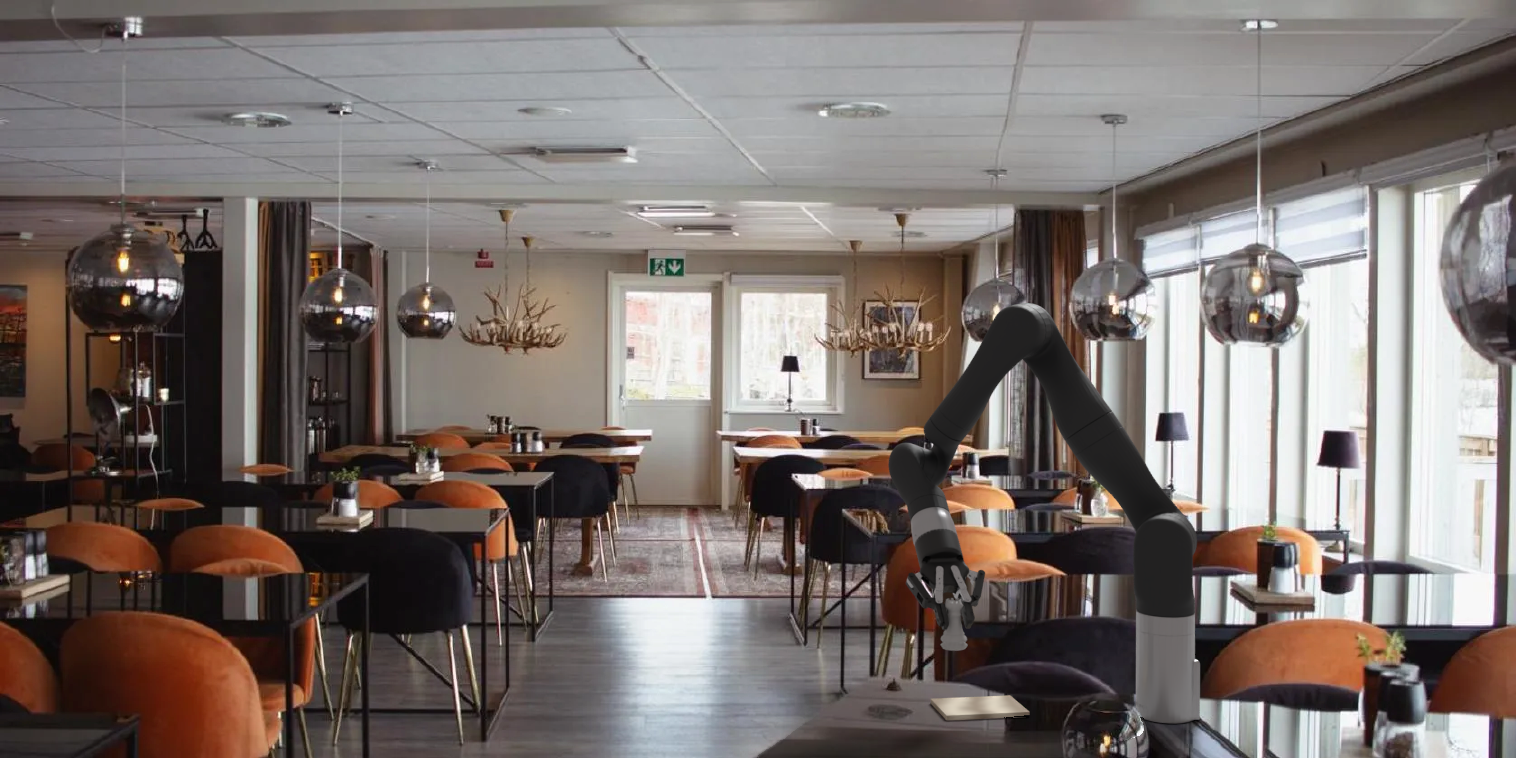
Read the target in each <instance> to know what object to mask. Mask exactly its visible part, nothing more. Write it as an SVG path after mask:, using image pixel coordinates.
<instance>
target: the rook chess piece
mask: <svg viewBox="0 0 1516 758" xmlns="http://www.w3.org/2000/svg"><path fill="white" fill-rule="evenodd" d="M954 599H955V597H950V598H949V597H947V598H945V602H944V604H945V608H946V612H947V616H948V620H949V626H948V629H947V630H943V634H942V635H941V636H940V641H941V643H940V646H941V648H942V649H943V650H946V651H952V652H955V651H956V652H957V651H963V650H966V648H967V647H968V645H969V644H968V643H966V642H967V641H968V637H967V636H966V635H965V632H964V630H963V625H962V623H963V622H962V613H961V609H962V607H963V606H964V605H963V604H962V603H961V599H959V598H956V599H955V600H954Z"/></svg>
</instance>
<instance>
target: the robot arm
mask: <svg viewBox="0 0 1516 758" xmlns="http://www.w3.org/2000/svg"><path fill="white" fill-rule="evenodd" d="M1021 361H1024V363H1025V364H1026V366H1027V367H1028V368H1029V369H1030V370H1031V372H1032V373H1033V374H1034V375H1035V378H1037V380H1038V381H1039V383H1040V385H1041V387H1042V388H1043V390H1044V392H1045V393H1044V394H1045V395H1046V398H1047V401H1048V404H1049V407H1050V411H1051V413H1052V416H1053V419H1054V422H1055V425H1056V427H1057V429H1058V431H1059V434H1060V435H1061V436H1062V438H1063V440H1064V441H1065V443H1066V445H1067V446H1068V448H1069V449H1070V450H1071V452H1072V453H1073V455H1074V456H1075V458H1076V459H1077V461H1078V462H1079V463H1080V465H1081V466H1082V467H1083V468H1084V469H1085V470H1086V471H1087V472H1088V473H1089V474H1090V476H1091V477H1092V478H1093V479H1094V480H1095V481H1096V482H1097V483H1098V484H1099V485H1100V486H1102V488H1104V489H1105V490H1106V491H1107V492H1108V493H1109V494H1110V496H1111V497H1113V498H1114V499H1115V502H1117V503H1118V505H1119V506H1120V508H1121V509H1122V510H1123V513H1124V514H1125V516H1126V517H1127V518H1128V520H1129V522H1130V524H1131V526H1132V528H1133V529H1134V532H1135V534H1134V538H1133V549H1132V550H1133V552H1132V554H1133V555H1132V557H1133V560H1132V561H1133V567H1132V568H1133V595H1134V598H1135V709H1136V708H1137V710H1138V712H1140V713H1141V715H1142V717H1143V718H1144V719H1143V718H1142V719H1143V720H1145V721H1150V722H1155V723H1161V724H1162V723H1163V724H1184V723H1189V722H1192V721H1194V720H1200V718H1201V717H1200V716H1201V715H1200V714H1201V713H1200V711H1201V705H1200V704H1201V699H1200V698H1201V663H1200V661H1199V660H1198V659H1197V658H1196V655H1195V654H1196V636H1195V634H1196V632H1195V631H1196V598H1195V595H1194V584H1193V582H1194V579H1193V578H1194V576H1193V575H1194V572H1193V571H1194V566H1193V564H1194V563H1193V562H1194V561H1193V560H1194V558H1193V557H1194V554H1195V553H1196V550H1197V547H1198V537H1197V533H1196V529H1195V527H1194V526H1193V524H1192V522H1191V521H1190V519H1188V518H1187V517H1186V516H1185V514H1184V513H1183V511H1181V510H1180V509H1179V507H1178V506H1177V505H1176V504H1175V503H1174V501H1173V500H1172V499H1171V498H1170V497H1169V495H1167V493H1166V492H1165V491H1164V489H1163V488H1162V487H1161V485H1160V484H1159V483H1158V482H1157V480H1156V479H1155V477H1154V475H1153V474H1152V473H1151V471H1150V469H1149V467H1148V465H1147V464H1146V462H1145V460H1144V459H1143V457H1142V455H1141V453H1140V452H1139V450H1138V449H1137V447H1136V445H1135V443H1134V442H1133V440H1132V439H1131V437H1130V436H1129V434H1128V432H1127V431H1126V429H1125V428H1124V426H1123V425H1122V423H1121V422H1120V420H1119V419H1118V417H1117V415H1116V414H1115V413H1114V411H1113V410H1112V408H1111V407H1110V406H1109V405H1108V403H1107V402H1106V401H1105V400H1104V398H1103V397H1102V395H1101V394H1100V392H1099V391H1098V389H1097V387H1096V386H1095V385H1094V384H1093V382H1092V381H1091V379H1090V378H1089V377H1088V376H1087V374H1086V373H1085V372H1084V371H1083V369H1082V367H1081V366H1080V365H1079V364H1078V362H1077V361H1076V359H1075V357H1074V356H1073V354H1072V353H1071V350H1070V348H1069V346H1068V345H1067V343H1066V341H1065V339H1064V337H1063V335H1062V333H1061V332H1060V329H1059V328H1058V326H1057V324H1056V322H1055V321H1054V318H1053V317H1052V316H1051V315H1050V313H1049V312H1048V311H1047V310H1046V309H1045V308H1043V307H1042V306H1040V305H1038V304H1035V303H1017V304H1011V305H1008V306H1006V307H1003V309H1001V310H1000V311H998V313H997V314H996V315H995V317H994V318H993V320H992V322H991V324H990V326H989V328H988V329H987V331H986V333H985V335H984V337H983V339H982V341H981V343H980V345H979V347H978V349H977V350H976V352H975V354H974V356H973V357H972V359H971V361H970V362H969V363H968V364H967V366H966V368H965V370H964V372H963V373H962V374H961V376H960V377H959V378H958V379H957V381H956V383H954V385H953V387H952V388H951V389H950V390H949V392H948V393H947V394H946V396H945V397H944V398H943V400H942V401H941V402H940V403H939V405H938V406H937V408H936V409H935V410H934V411H933V413H932V414H931V415H930V416H929V418H928V419H927V420H926V422H925V424H924V426H923V434H924V435H925V437H926V439H927V440H928V441H929V442H930V443H931V444H932V447H931V448H929V449H928V448H925V447H921V446H919V445H917V444H913V443H911V442H902V443H900V444H897V445H896V446H895V447H894V448H893V449H892V450H891V452H890V454H889V457H888V471H889V472H888V473H889V476H890V479H891V480H892V482H893V485H894V487H895V489H896V490H897V492H898V494H899V496H900V497H901V499H902V501H903V502H904V503H905V505H906V508H907V514H908V517H909V521H910V527H911V536H912V542H913V545H914V549H915V553H916V556H917V562H918V566H919V572H917V573H914V572H909V573H908V575H907V578H906V581H905V585H906V586H907V588H908V589H909V591H910V592H911V593H912V595H913V597H915V599H916V601H917V602H918V603H919V605H920V606H921V608H922V609H926V610H927V609H928V608H929V609H930V610H931V609H932V610H933V611H934V614H935V618H936V619H935V620H936V623H937V624H936V625H938V627H941V630H942V631H945V630H947V629H948V626H949V620H948V616H947V612H946V608H945V603H943V602H944V594H945V593H950V594H952V595H953V598H954V599H955V600H956V598H959V599H961V603H962V604H963V605H964V606H963V607H962V609H961V614H962V616H961V618H962V620H963V621H962V622H963V624H964V627H965V629H971V627H972V626H973V625H974V622H975V614H974V610H973V607H974V608H975V607H978V605H979V602H980V599H981V598H982V592H983V588H984V587H983V586H984V582H985V578H986V577H985V576H986V571H984V570H983V569H979V570H978V571H975V570H973V569H972V570H971V569H970V568H969V566H968V565H967V564H966V562H965V559H964V555H963V552H962V551H963V550H962V548H961V543H960V539H959V536H958V532H957V528H956V526H955V523H954V520H953V518H952V516H951V513H950V509H949V505H948V501H947V498H946V494H945V493H944V491H943V490H942V489H941V487H939V486H940V485H941V484H942V483H943V482H944V480H945V478H946V476H947V474H948V473H949V470H950V467H951V465H952V462H953V460H954V458H955V455H956V452H957V451H958V447H959V445H960V444H961V443H962V441H963V440H964V439H965V438H966V437H967V435H968V434H969V433H970V432H971V430H972V429H973V428H974V426H975V425H976V424H977V423H978V420H979V419H980V418H981V416H982V414H983V413H984V411H985V409H986V408H987V405H988V403H989V401H990V399H991V397H992V395H993V394H994V392H995V390H996V388H997V387H998V386H999V384H1000V382H1002V381H1003V379H1004V377H1006V375H1008V373H1009V372H1010V371H1011V370H1012V369H1013V368H1015V366H1017V365H1018V364H1019V363H1020V362H1021ZM967 578H968V579H969V580H970V581H969V582H970V583H971V585H972V586H973V589H972V594H971V595H970V593H969V591H968V589H967V588H968V587H967V585H966V583H965V581H966V580H967ZM923 582H924V584H926V585H927V586H928V587H929V588H930V589H931V594H930V593H929V591H928V590H927V589H926V587H925V586H924V585H923Z"/></svg>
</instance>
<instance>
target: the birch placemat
mask: <svg viewBox="0 0 1516 758" xmlns="http://www.w3.org/2000/svg"><path fill="white" fill-rule="evenodd" d="M930 705H931V706H933V708H934V709H935V710H936V711H937V712H938V713H939V714H940V715H941V716H942V718H944V719H945V721H964V720H965V721H967V720H984V719H985V720H986V719H989V720H990V719H1006V717H1013V718H1015V717H1014V716H1024V715H1030V710H1028V709H1027V708H1025V707H1024V706H1023V705H1022V704H1021V703H1020V702H1018V701H1017V700H1016V699H1015V698H1014V697H1013V696H1012V695H992V696H967V697H965V696H964V697H960V696H959V697H943V698H937V697H936V698H930ZM1004 717H1005V718H1004Z"/></svg>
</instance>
